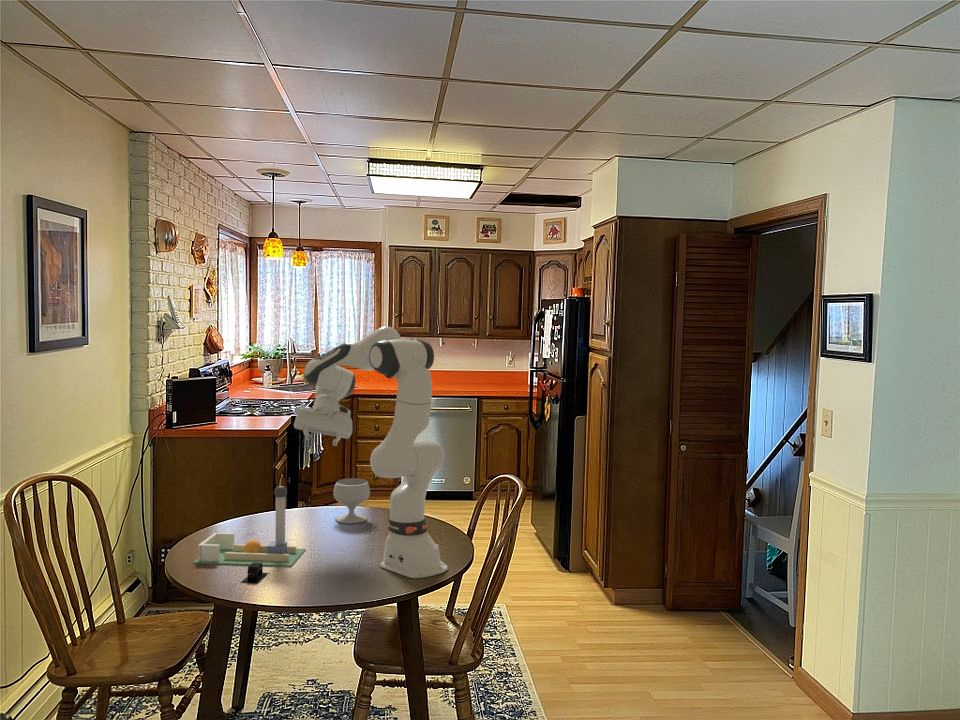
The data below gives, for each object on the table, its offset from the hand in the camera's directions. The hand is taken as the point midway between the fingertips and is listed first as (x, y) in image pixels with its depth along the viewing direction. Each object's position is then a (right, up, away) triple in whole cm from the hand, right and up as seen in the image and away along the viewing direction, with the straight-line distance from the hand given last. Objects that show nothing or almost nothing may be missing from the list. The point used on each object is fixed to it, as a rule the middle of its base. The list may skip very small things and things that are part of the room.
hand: (321, 442), depth 245 cm
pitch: (-19, -35, -16) cm, 43 cm away
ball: (-19, -32, -16) cm, 41 cm away
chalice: (+5, -34, +28) cm, 44 cm away
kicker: (-10, -35, -16) cm, 40 cm away
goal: (-20, -35, -16) cm, 43 cm away
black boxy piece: (-12, -37, -34) cm, 52 cm away
